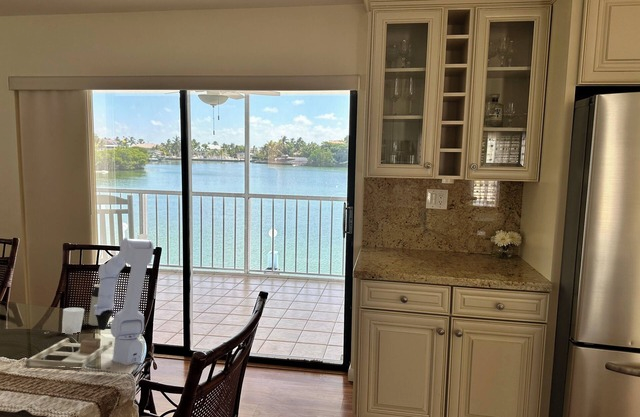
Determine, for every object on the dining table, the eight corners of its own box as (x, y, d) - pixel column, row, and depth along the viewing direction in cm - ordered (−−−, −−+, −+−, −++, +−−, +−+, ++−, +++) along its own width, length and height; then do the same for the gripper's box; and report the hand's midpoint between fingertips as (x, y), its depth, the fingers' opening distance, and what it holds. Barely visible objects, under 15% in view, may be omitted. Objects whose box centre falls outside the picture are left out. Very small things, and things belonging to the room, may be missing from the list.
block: (85, 348, 161) (86, 337, 162) (99, 349, 162) (100, 338, 162) (79, 352, 156) (80, 341, 157) (93, 353, 157) (95, 342, 157)
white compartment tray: (65, 345, 166) (66, 338, 166) (111, 348, 168) (112, 341, 168) (25, 368, 139) (26, 359, 139) (80, 371, 141) (81, 363, 141)
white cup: (72, 336, 178) (75, 312, 178) (55, 333, 180) (58, 309, 180) (85, 332, 186) (88, 309, 186) (70, 329, 187) (73, 306, 188)
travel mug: (84, 324, 198) (89, 285, 199) (97, 321, 206) (101, 283, 206) (99, 327, 196) (103, 287, 197) (111, 323, 204) (115, 285, 205)
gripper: (103, 291, 177) (98, 324, 176) (87, 297, 162) (83, 333, 162) (120, 292, 178) (116, 325, 177) (107, 298, 163) (102, 334, 163)
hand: (102, 329), depth 169 cm, fingers closed
